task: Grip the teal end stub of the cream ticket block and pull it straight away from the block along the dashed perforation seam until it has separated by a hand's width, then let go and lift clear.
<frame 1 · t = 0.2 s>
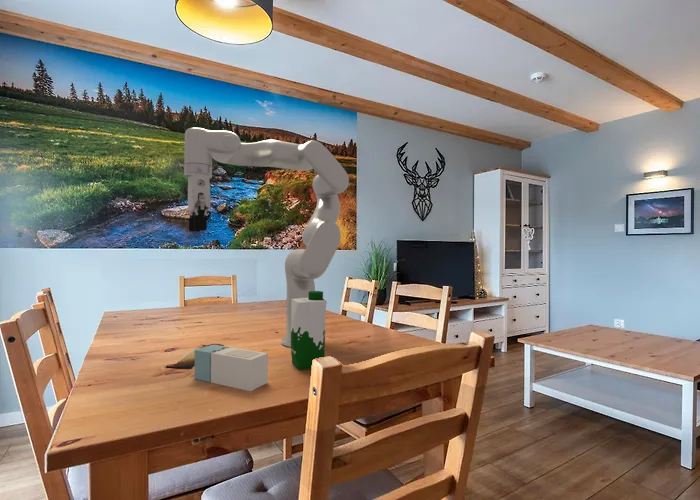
hand: (197, 230, 110), 37 cm above the table, tool pointing down, fingers open, 9 cm apart
milk carton: (307, 365, 103), on the table
parchment: (200, 357, 111), on the table
ticket block: (239, 382, 89), on the table
stub: (211, 362, 93), point 4 cm above the table, slide at 0.0 cm
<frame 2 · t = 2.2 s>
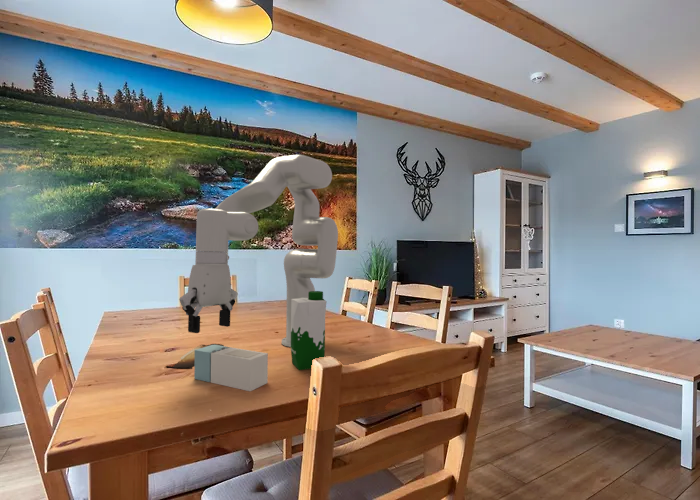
hand: (209, 329, 92), 12 cm above the table, tool pointing down, fingers open, 9 cm apart
nothing on the table moved.
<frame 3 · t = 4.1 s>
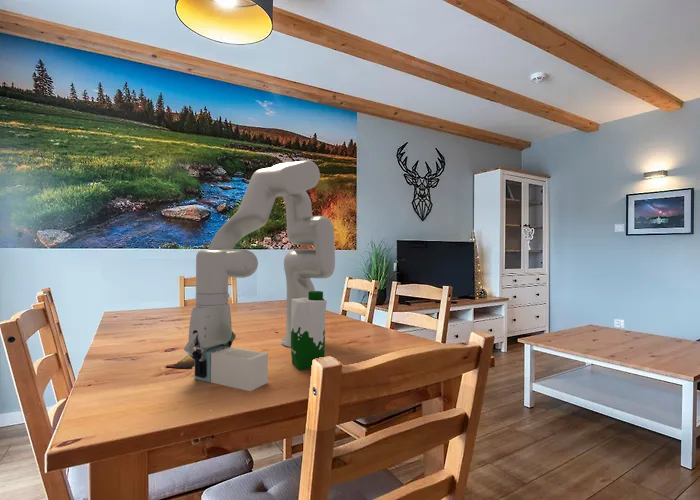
hand: (211, 371, 93), 1 cm above the table, tool pointing down, fingers closed on stub, 6 cm apart
stub: (211, 362, 93), point 4 cm above the table, slide at 0.0 cm, touching gripper
everything else where it was.
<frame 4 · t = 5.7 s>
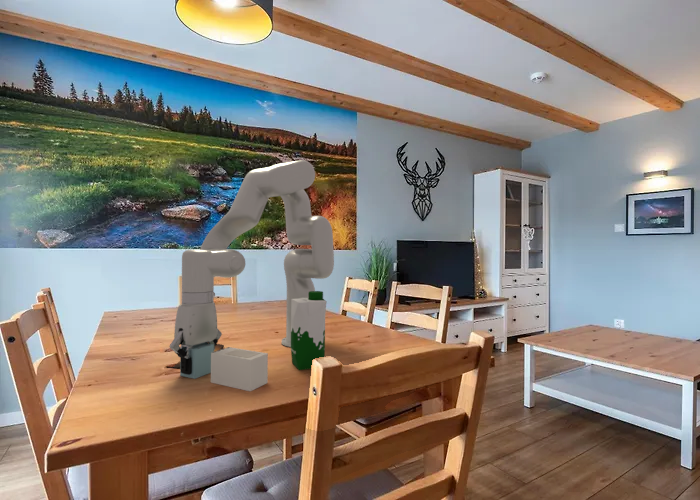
hand: (197, 368, 95), 1 cm above the table, tool pointing down, fingers closed on stub, 6 cm apart
stub: (197, 359, 95), point 4 cm above the table, slide at 5.0 cm, touching gripper
everything else where it was.
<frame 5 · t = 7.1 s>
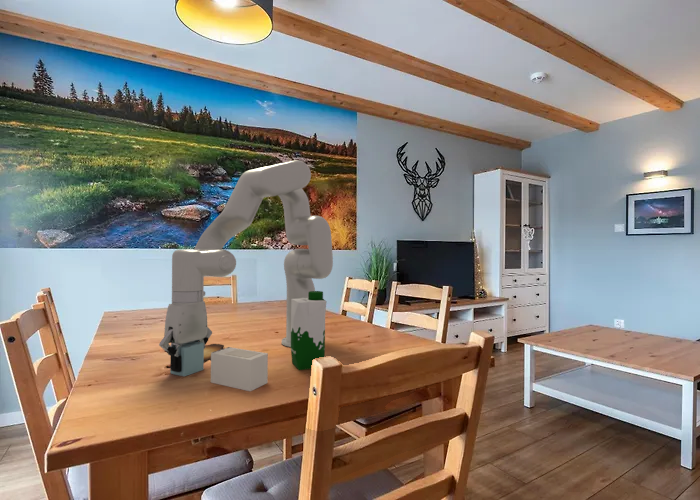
hand: (187, 366, 97), 1 cm above the table, tool pointing down, fingers closed on stub, 6 cm apart
stub: (187, 357, 97), point 4 cm above the table, slide at 8.5 cm, touching gripper
everything else where it was.
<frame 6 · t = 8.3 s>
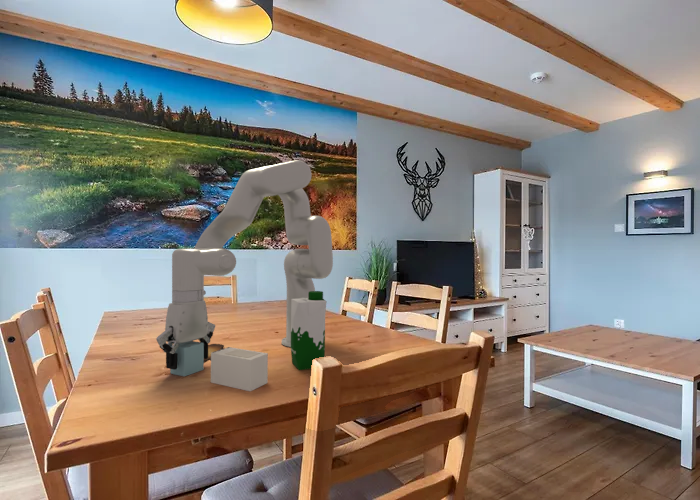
hand: (188, 363, 97), 2 cm above the table, tool pointing down, fingers open, 9 cm apart
stub: (187, 357, 97), point 4 cm above the table, slide at 8.5 cm
everything else where it was.
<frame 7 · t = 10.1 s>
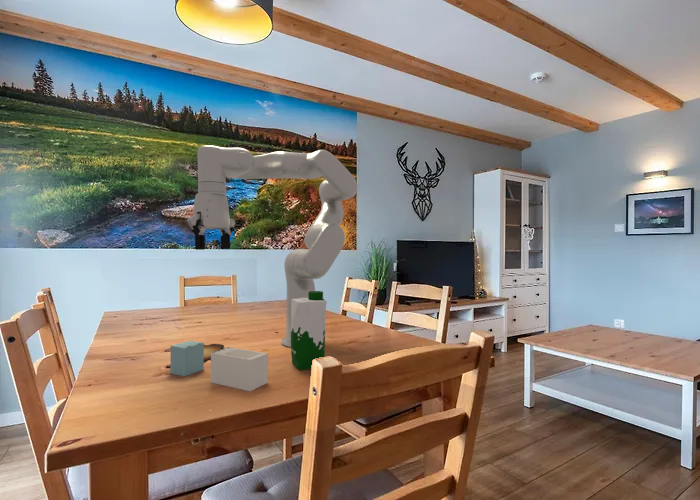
hand: (213, 249, 109), 31 cm above the table, tool pointing down, fingers open, 9 cm apart
nothing on the table moved.
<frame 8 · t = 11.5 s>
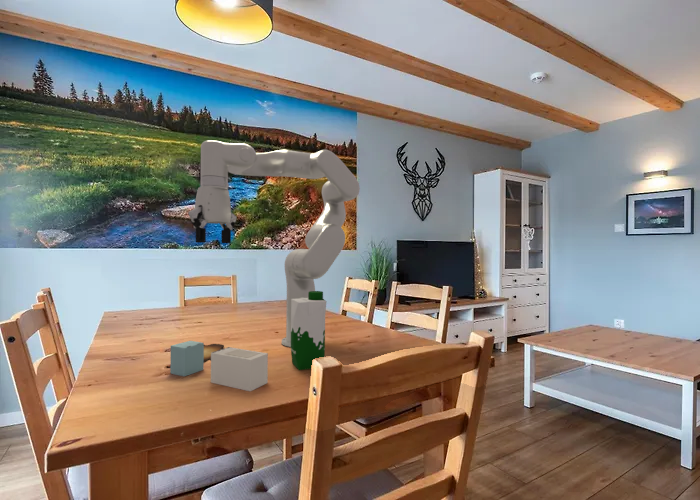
hand: (213, 242, 110), 33 cm above the table, tool pointing down, fingers open, 9 cm apart
nothing on the table moved.
at the end: stub slide at 8.5 cm; the gripper is holding nothing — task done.
